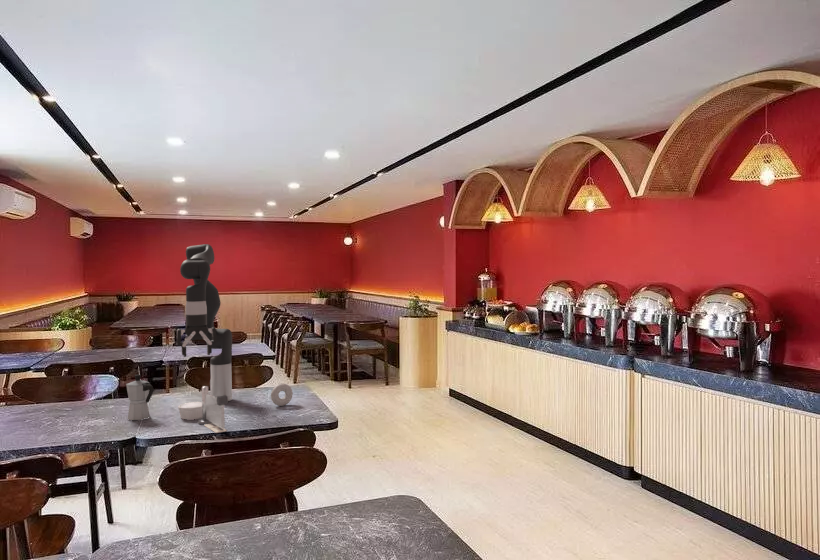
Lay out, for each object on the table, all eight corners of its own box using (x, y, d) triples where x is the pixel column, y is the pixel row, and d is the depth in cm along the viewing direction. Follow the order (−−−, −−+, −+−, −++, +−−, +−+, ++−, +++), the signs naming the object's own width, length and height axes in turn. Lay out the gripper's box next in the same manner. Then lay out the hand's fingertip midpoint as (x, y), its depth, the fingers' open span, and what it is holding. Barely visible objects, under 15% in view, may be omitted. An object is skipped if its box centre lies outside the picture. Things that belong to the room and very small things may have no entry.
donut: (291, 403, 263) (290, 381, 263) (294, 404, 261) (293, 382, 260) (269, 406, 258) (269, 384, 257) (272, 408, 255) (272, 385, 255)
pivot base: (194, 422, 233) (194, 420, 233) (208, 419, 237) (208, 417, 237) (202, 425, 229) (202, 423, 229) (216, 422, 233) (216, 419, 233)
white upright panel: (200, 419, 233) (199, 386, 232) (208, 417, 235) (207, 385, 234) (219, 430, 216) (219, 396, 216) (228, 429, 218) (227, 394, 218)
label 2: (210, 429, 223) (210, 428, 223) (220, 427, 226) (220, 426, 226) (216, 433, 218) (216, 431, 218) (226, 431, 221) (226, 429, 221)
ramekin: (173, 417, 241) (173, 405, 241) (199, 412, 250) (199, 400, 249) (186, 422, 234) (186, 409, 234) (212, 416, 242) (212, 404, 242)
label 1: (204, 425, 229) (204, 424, 229) (214, 423, 231) (214, 422, 231) (209, 428, 224) (209, 427, 224) (219, 427, 226) (219, 425, 226)
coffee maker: (118, 419, 240) (117, 375, 239) (136, 413, 248) (135, 371, 247) (144, 423, 233) (143, 378, 233) (162, 417, 241) (161, 374, 241)
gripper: (177, 314, 215) (178, 358, 215) (217, 312, 222) (218, 355, 222) (174, 313, 221) (175, 356, 222) (213, 311, 228) (214, 353, 228)
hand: (197, 355), depth 222 cm, fingers open, 8 cm apart
